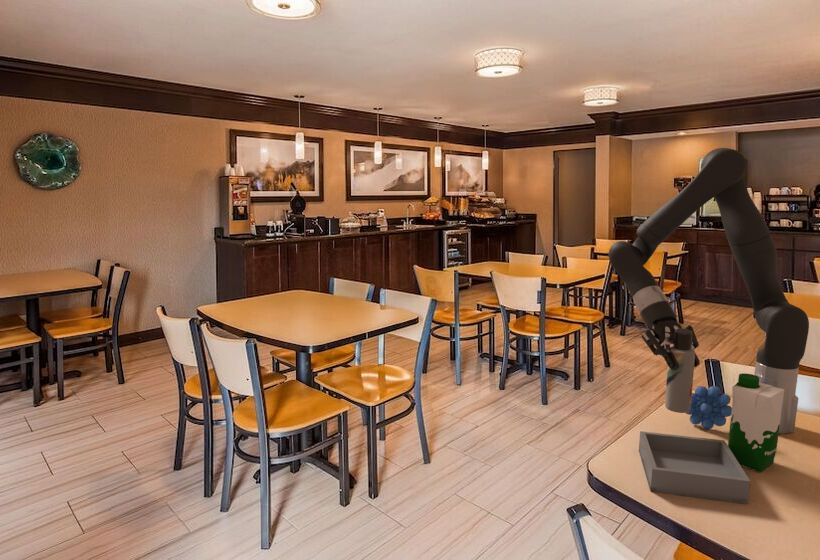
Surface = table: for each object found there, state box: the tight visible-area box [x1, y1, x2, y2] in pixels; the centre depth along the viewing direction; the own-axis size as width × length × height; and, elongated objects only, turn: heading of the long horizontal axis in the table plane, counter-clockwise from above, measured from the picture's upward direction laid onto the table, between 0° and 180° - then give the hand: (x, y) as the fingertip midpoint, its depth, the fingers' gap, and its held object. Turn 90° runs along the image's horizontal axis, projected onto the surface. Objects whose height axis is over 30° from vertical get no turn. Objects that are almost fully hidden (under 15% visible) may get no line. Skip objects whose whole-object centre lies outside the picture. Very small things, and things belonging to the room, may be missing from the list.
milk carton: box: [727, 373, 784, 473], centre depth 123 cm, size 9×9×20 cm
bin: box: [638, 430, 751, 505], centre depth 119 cm, size 18×18×5 cm
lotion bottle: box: [664, 328, 696, 414], centre depth 132 cm, size 6×6×20 cm
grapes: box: [685, 385, 732, 430], centre depth 142 cm, size 12×7×12 cm, turn 42°
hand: (686, 367), depth 130 cm, fingers closed on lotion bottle, 5 cm apart
